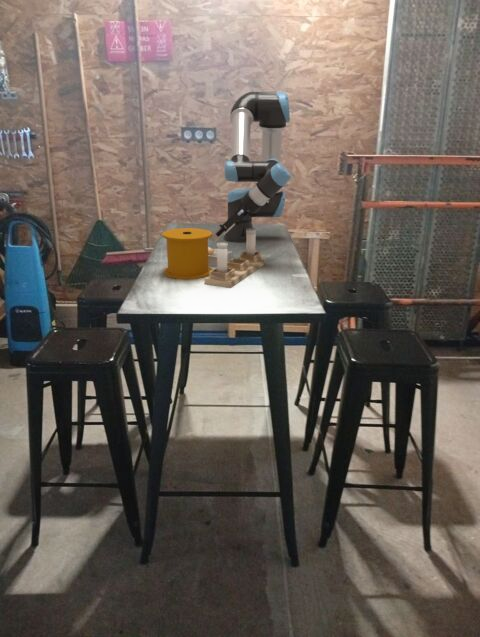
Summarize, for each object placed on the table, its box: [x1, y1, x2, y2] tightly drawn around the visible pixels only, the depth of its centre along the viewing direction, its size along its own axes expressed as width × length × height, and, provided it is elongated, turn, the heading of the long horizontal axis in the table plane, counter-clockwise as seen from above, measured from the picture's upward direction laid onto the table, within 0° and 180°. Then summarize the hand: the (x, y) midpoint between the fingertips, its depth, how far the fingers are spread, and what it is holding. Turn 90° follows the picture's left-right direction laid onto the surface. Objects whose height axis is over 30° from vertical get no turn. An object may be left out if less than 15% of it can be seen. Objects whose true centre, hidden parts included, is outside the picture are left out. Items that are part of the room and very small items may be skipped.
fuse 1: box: [216, 241, 229, 273], centre depth 167 cm, size 4×4×12 cm
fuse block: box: [204, 250, 267, 288], centre depth 180 cm, size 34×10×4 cm, turn 156°
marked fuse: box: [208, 246, 217, 256], centre depth 191 cm, size 4×4×12 cm
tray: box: [208, 248, 234, 268], centre depth 193 cm, size 11×11×4 cm
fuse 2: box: [245, 227, 257, 256], centre depth 189 cm, size 4×4×12 cm
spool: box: [161, 227, 213, 280], centre depth 178 cm, size 18×18×15 cm
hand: (216, 236), depth 189 cm, fingers open, 13 cm apart
